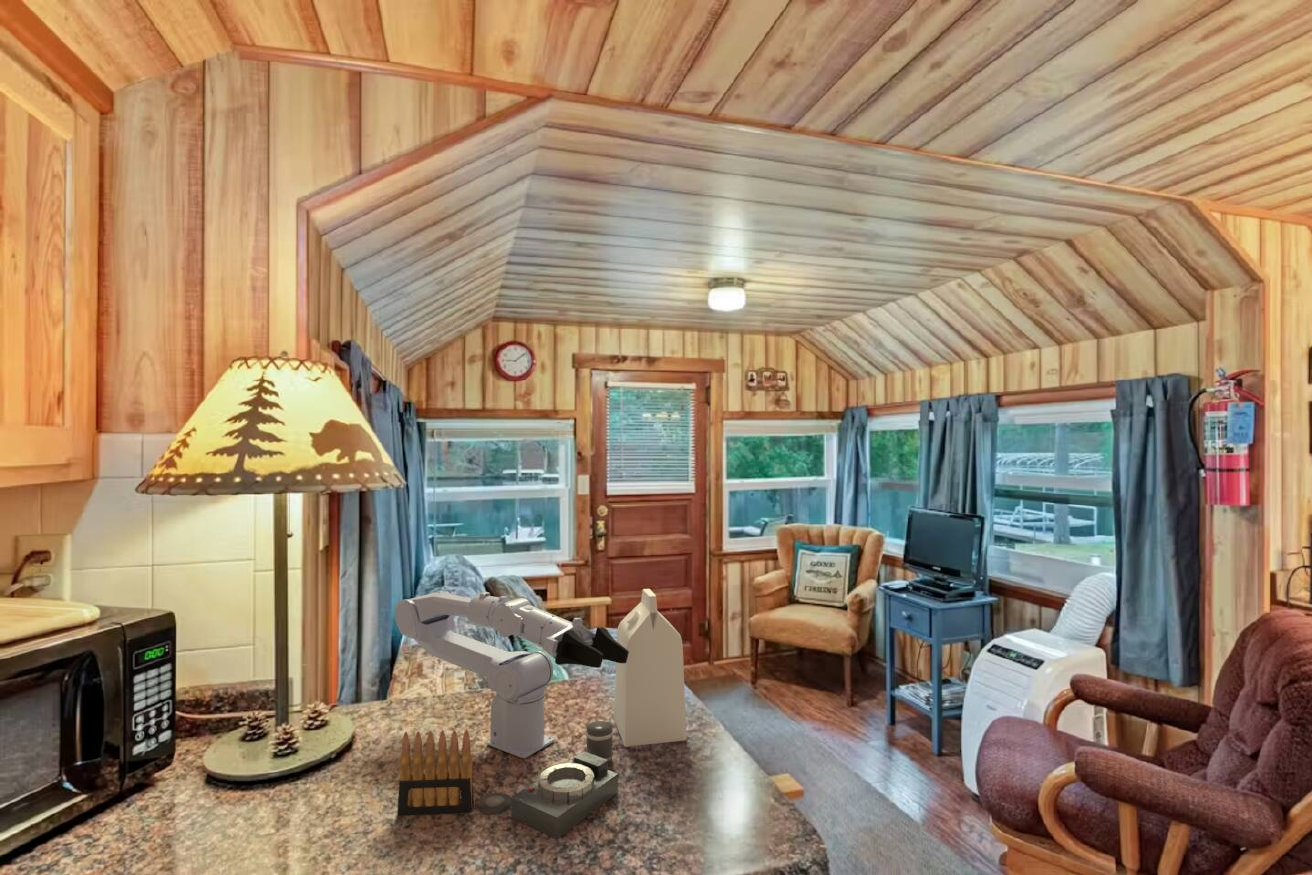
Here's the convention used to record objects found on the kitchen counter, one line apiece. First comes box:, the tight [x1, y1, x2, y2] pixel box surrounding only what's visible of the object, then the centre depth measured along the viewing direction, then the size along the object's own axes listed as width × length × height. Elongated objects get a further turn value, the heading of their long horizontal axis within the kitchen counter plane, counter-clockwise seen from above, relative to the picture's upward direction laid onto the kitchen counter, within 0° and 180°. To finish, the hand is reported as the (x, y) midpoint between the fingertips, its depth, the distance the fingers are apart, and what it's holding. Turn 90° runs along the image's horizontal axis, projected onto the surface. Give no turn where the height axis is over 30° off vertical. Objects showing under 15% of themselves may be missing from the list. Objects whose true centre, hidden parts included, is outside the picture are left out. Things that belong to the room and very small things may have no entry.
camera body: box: [510, 750, 619, 840], centre depth 99 cm, size 9×14×5 cm, turn 146°
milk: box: [613, 588, 688, 748], centre depth 124 cm, size 12×12×26 cm
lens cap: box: [477, 792, 512, 815], centre depth 99 cm, size 5×5×1 cm
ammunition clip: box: [397, 729, 475, 817], centre depth 97 cm, size 11×2×12 cm, turn 95°
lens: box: [585, 720, 614, 767], centre depth 112 cm, size 5×5×6 cm
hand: (614, 659), depth 107 cm, fingers open, 7 cm apart
